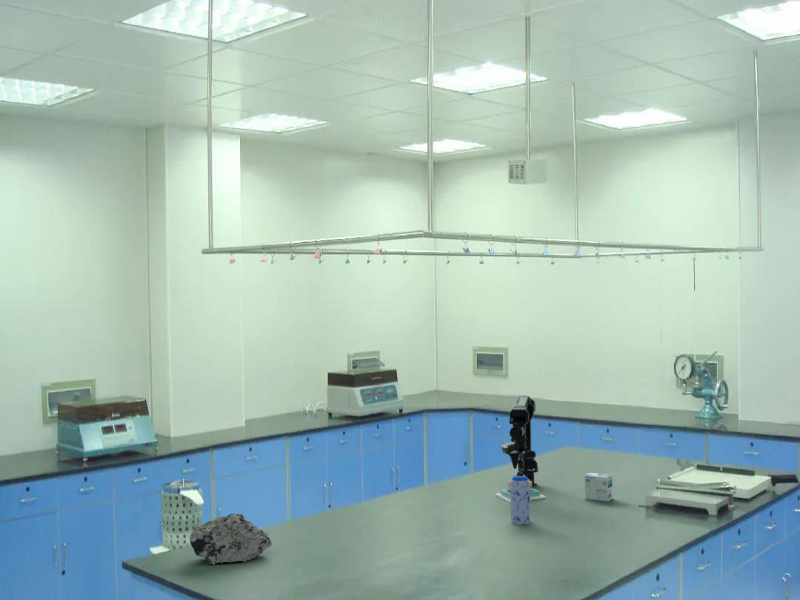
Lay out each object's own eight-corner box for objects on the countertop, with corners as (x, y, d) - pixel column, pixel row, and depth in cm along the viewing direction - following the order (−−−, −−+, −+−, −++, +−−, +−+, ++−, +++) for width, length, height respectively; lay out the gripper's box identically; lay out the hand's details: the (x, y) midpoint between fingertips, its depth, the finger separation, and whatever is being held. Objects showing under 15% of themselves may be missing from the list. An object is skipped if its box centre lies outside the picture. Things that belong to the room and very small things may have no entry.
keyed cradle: (495, 495, 377) (494, 489, 377) (529, 492, 383) (529, 485, 383) (509, 502, 364) (509, 495, 364) (545, 498, 370) (545, 491, 370)
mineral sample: (255, 508, 307) (262, 498, 295) (270, 557, 301) (278, 550, 289) (183, 530, 295) (187, 521, 283) (196, 582, 289) (201, 575, 277)
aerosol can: (530, 524, 328) (529, 474, 328) (510, 524, 330) (509, 473, 329) (531, 519, 336) (530, 470, 336) (511, 518, 337) (510, 469, 337)
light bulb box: (613, 498, 368) (612, 474, 368) (608, 502, 363) (608, 477, 363) (589, 496, 374) (589, 472, 374) (584, 499, 368) (584, 474, 368)
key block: (527, 493, 377) (527, 479, 377) (532, 494, 373) (532, 481, 373) (508, 495, 373) (507, 481, 373) (512, 497, 370) (512, 483, 370)
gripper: (493, 434, 379) (494, 468, 379) (513, 440, 362) (514, 476, 362) (515, 432, 383) (515, 466, 383) (536, 438, 366) (536, 474, 366)
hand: (520, 470), depth 374 cm, fingers open, 9 cm apart
